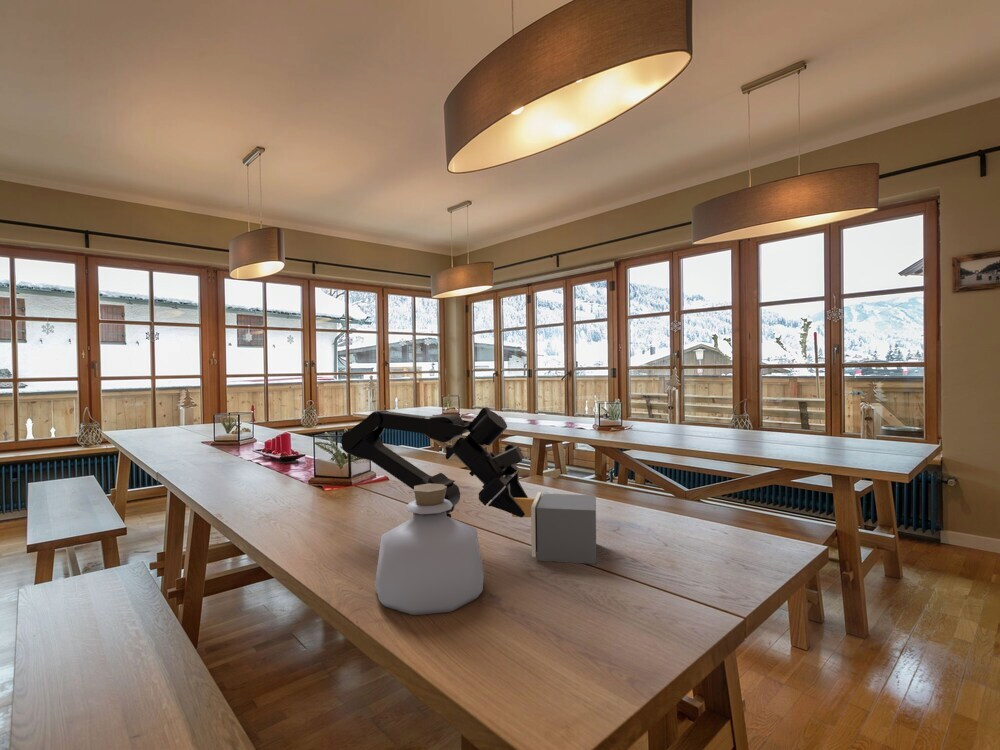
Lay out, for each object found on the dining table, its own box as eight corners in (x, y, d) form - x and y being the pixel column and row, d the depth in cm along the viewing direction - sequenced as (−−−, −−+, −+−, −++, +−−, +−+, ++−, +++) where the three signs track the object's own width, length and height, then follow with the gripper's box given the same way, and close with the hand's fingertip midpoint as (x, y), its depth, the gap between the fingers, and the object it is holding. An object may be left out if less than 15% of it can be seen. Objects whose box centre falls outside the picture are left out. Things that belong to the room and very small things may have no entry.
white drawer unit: (508, 555, 105) (507, 505, 104) (517, 535, 117) (517, 490, 117) (588, 560, 101) (587, 509, 101) (589, 538, 114) (588, 493, 114)
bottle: (506, 581, 94) (504, 481, 94) (443, 629, 77) (441, 507, 77) (423, 561, 104) (422, 471, 104) (351, 600, 88) (349, 492, 87)
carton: (537, 560, 104) (536, 508, 104) (543, 540, 116) (543, 493, 115) (596, 564, 102) (595, 510, 101) (596, 543, 113) (595, 495, 113)
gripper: (492, 440, 102) (547, 495, 100) (508, 428, 120) (555, 475, 118) (456, 477, 103) (509, 533, 101) (477, 460, 122) (523, 507, 120)
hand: (526, 509), depth 110 cm, fingers open, 9 cm apart
